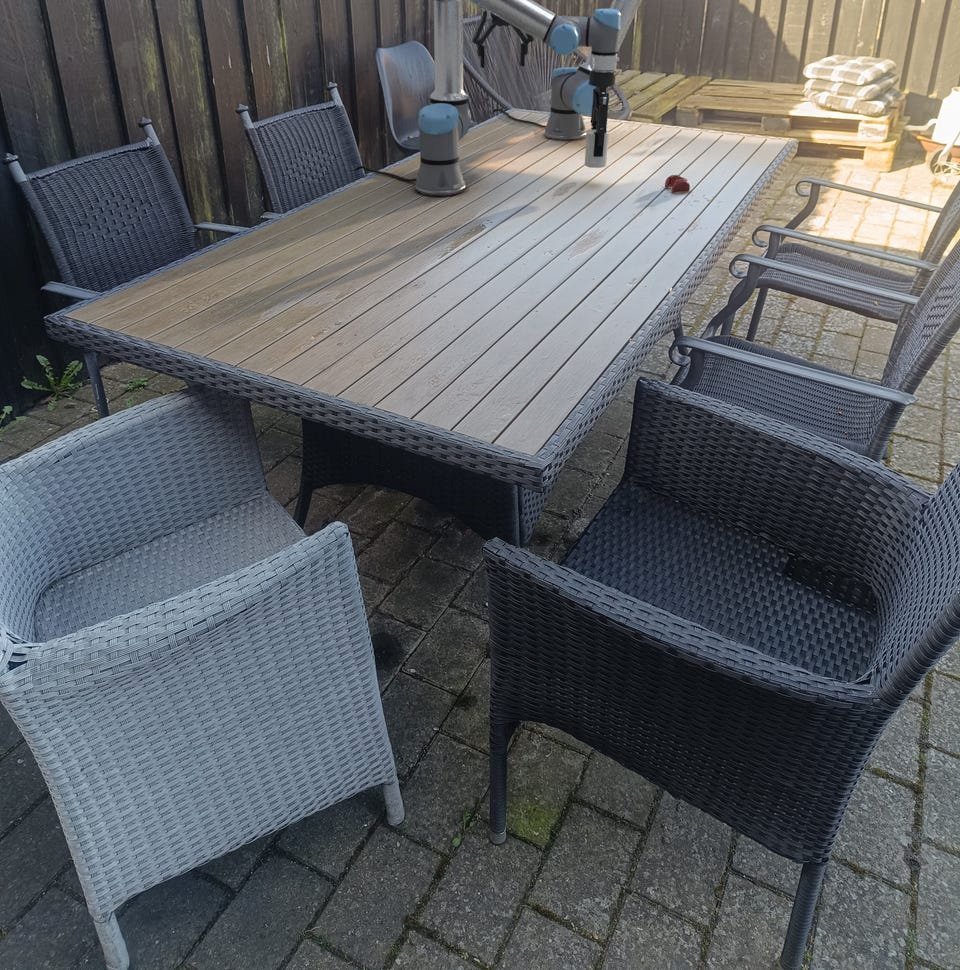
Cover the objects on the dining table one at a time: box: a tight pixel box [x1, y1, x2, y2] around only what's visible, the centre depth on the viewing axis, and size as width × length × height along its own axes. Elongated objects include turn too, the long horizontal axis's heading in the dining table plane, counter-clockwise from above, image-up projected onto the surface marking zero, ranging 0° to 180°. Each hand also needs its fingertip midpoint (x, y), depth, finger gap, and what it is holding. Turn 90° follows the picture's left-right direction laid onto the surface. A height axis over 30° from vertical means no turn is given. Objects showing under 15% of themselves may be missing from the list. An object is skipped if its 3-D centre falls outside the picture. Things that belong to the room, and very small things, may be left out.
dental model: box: [664, 174, 691, 193], centre depth 257 cm, size 6×4×8 cm
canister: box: [584, 129, 610, 169], centre depth 256 cm, size 7×7×10 cm
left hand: (596, 153), depth 257 cm, fingers closed on canister, 7 cm apart
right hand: (502, 66), depth 279 cm, fingers open, 13 cm apart
